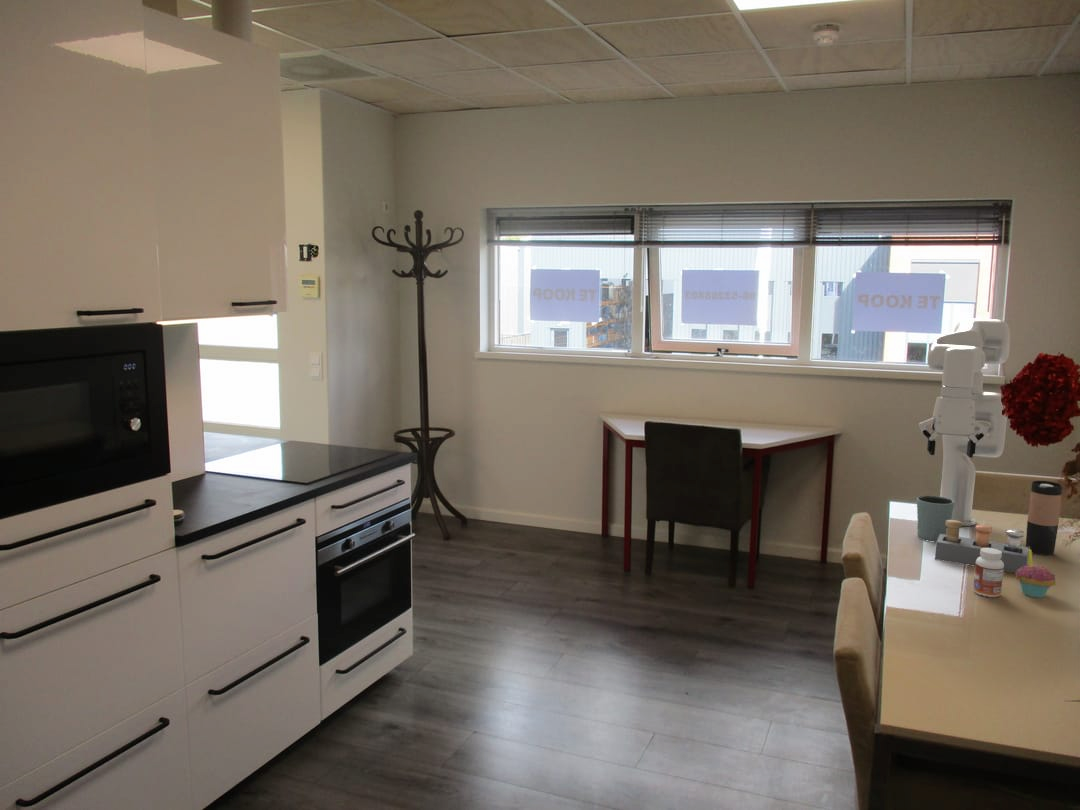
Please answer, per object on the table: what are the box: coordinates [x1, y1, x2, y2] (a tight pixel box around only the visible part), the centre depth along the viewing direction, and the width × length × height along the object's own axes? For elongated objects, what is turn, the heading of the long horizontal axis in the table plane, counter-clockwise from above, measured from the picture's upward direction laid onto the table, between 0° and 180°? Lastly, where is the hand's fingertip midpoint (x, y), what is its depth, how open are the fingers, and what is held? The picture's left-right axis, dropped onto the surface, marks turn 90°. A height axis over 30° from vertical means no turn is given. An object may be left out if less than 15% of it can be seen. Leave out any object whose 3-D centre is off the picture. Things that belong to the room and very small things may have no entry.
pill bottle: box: [972, 548, 1004, 598], centre depth 208 cm, size 6×6×11 cm
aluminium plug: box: [1005, 528, 1024, 553], centre depth 227 cm, size 4×4×6 cm
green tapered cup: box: [916, 494, 954, 543], centre depth 252 cm, size 10×10×12 cm
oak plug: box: [945, 520, 962, 543], centre depth 234 cm, size 4×4×6 cm
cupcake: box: [1015, 547, 1057, 599], centre depth 208 cm, size 9×8×12 cm
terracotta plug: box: [974, 523, 993, 548], centre depth 231 cm, size 4×4×6 cm
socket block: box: [934, 534, 1029, 574], centre depth 231 cm, size 9×22×5 cm, turn 59°
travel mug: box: [1025, 480, 1063, 556], centre depth 240 cm, size 8×8×20 cm
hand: (950, 455), depth 228 cm, fingers open, 9 cm apart
